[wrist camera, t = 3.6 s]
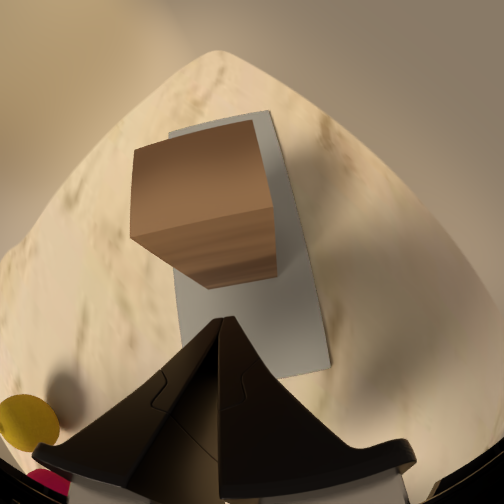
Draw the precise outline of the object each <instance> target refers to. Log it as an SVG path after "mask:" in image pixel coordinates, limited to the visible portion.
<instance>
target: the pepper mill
mask: <svg viewBox="0 0 504 504" xmlns="http://www.w3.org/2000/svg"><path fill="white" fill-rule="evenodd" d="M27 476H28V477H30V478H32V479H34V480H35V481H37V482H39V483H41V484H42V485H44V486H46V487H48V488H50V489H52V490H54V491H56V492H58V493H61V494H63V495H65V496H68V491H69V487H70V481H68V480H66V479H64V478H63V477H61V476H59V475H57V474H56V473H54V472H52V471H49V470H46V469H36V470H34V471H32V472H30V473H28V474H27Z"/></svg>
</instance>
